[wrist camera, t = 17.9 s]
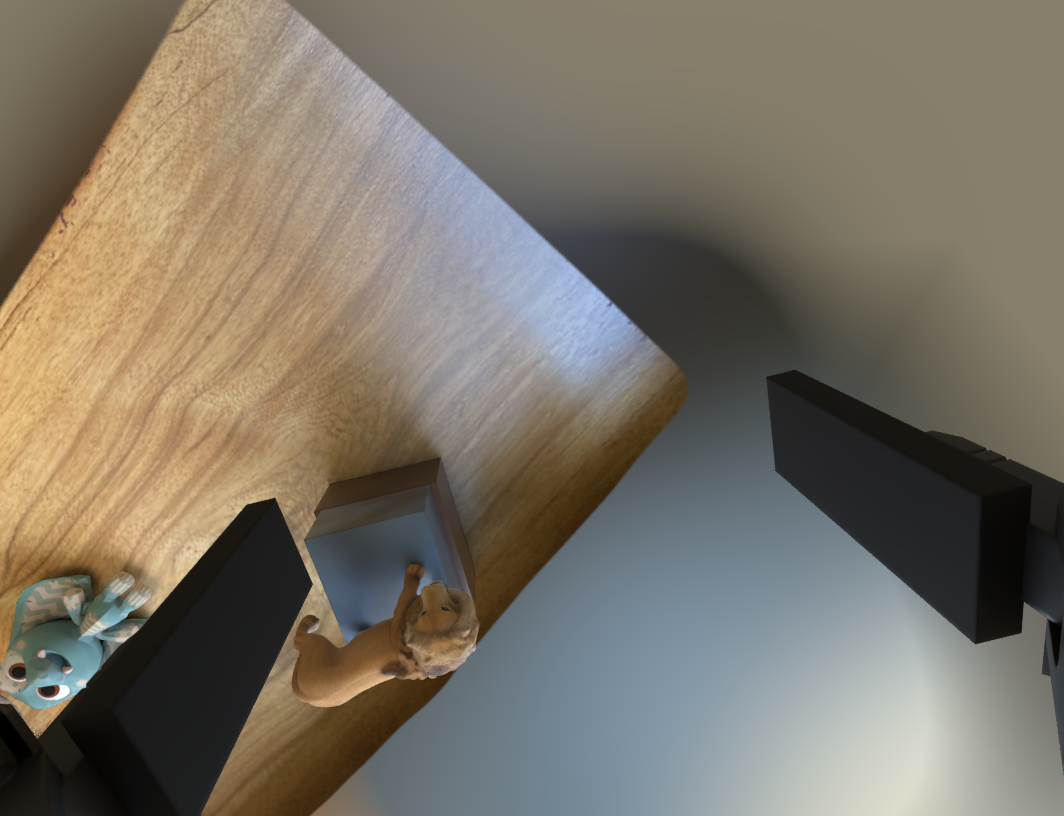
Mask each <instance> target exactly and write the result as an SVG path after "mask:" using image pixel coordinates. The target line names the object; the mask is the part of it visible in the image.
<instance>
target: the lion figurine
mask: <svg viewBox="0 0 1064 816" xmlns="http://www.w3.org/2000/svg"><path fill="white" fill-rule="evenodd" d="M424 574H425V571H424V569H423V566H421V565H419V564H409V566H408V568H407V570H406V573H405V576H404V587H403V590H402V592H401V594H400V596H399V598H398V602H397V605H396V607H395V610H394V612H393V617H392V618H389V619H387V620H384V621H382V622H379V623H377V624H375V625H374V626H372V627H370V628H368V629H366V630H362V631H360V632H359V633H358V634H356V636H355V637H354V638H353V639H352V640H351V641H350V642H348V643H347V644H346V645H345V646H344V647H342V648H337V647H336V646H335V645H333V644H332V643H331V642H330V641H329V640H328V639H327V638H325V637H324V636H322V635H319V634H312V633H311V632H313V631H315V630H316V629H317V628H318V627H319V619H318V618H316V617H315V616H313V615H307V616H305V617H304V618H303V619H302V620H301V622H300V624H299V627H298V629H297V633H296V636H295V638H294V644H293V645H294V648H295V649H296V650H299V651H300V654H299V657H298V659H297V661H296V664H295V668H294V671H293V676H292V689H293V692H294V695H295V696H296V697H297V698H298V699H300V700H301V701H303V702H307V703H310V704H312V705H314V706H318V707H332V706H337V705H341V704H343V703H345V702H346V701H348V700H349V699H351V698H352V697H354V696H355V695H357V694H358V693H360V692H362V691H364V690H366V689H368V688H370V687H372V686H374V685H376V684H379V683H381V682H383V681H386V680H389V679H391V678H394V677H397V678H399V679H403V680H404V679H407V678H408V679H412V680H415V679H416V678H419V679H421V680H423V679H425V677H430V678H436V677H437V675H443V674H445V673H447V672H449V671H453V670H455V669H457V668H458V667H459V665H460V664H462V663H464V662H465V660H466V658H467V657H468V656H469V655H470V654H471V652H473V651H475V649H476V645H475V641H476V638H477V633H478V630H479V623H478V620H477V618H476V613H475V609H474V602H473V600H472V598H471V596H470V595H469V593H466V592H463V591H460V590H458V589H453V588H446V586H445V585H444V583H443V582H442V581H441V580H435V581H433V582H431V584H430V585H426V586H424V587H423V588H422V590H421V594H420V595H417V590H418V587H419V585H420V580H421V579H422V578H423V577H424Z"/></svg>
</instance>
